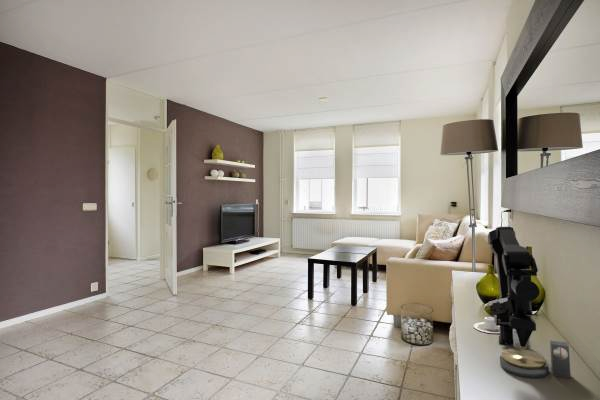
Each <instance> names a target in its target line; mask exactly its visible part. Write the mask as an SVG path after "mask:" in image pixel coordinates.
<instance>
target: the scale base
mask: <svg viewBox="0 0 600 400" xmlns="http://www.w3.org/2000/svg"><path fill="white" fill-rule="evenodd" d="M549 347H550V362H551V363H550V365H551V373H552V376H553V377H559V378H564V379H565V378H566V379H572V378H571V376H572V375H571V362H570V347H569V344H568V343H567V342H565V341H557V340H549ZM499 365H500V366H499V367H500V368H502V369H503V370H504V371H505V372H507V373H509V374H511V375H514V376H517V377H522V378H526V379H544V378H546V377H548V376H549V374H550V368H549V363H548V362H547V361H546V365H545V366H544V367H542V368H537V369H530V368H523V367H518V366H515V365H512V364H510V363H508V362H506V361H505V360H503V358H502V354H501V355H500V356H499Z"/></svg>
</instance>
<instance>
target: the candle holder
mask: <svg viewBox="0 0 600 400" xmlns="http://www.w3.org/2000/svg"><path fill="white" fill-rule="evenodd" d="M479 326H484V327H485V329H486V330H487V331H486V330H482V329H481V328H480V327H479ZM473 328H475V330H478V331H480V332H483V333H487V334H500V331H497V330H498V328H500V327H499V326H496V324H495V322H494V316H486V317H484V321H483V322H481V321H480V322H476V323H475V324H473Z"/></svg>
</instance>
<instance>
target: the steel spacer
mask: <svg viewBox="0 0 600 400" xmlns="http://www.w3.org/2000/svg"><path fill="white" fill-rule="evenodd" d="M513 344H514V345H513V347H514V349H522V350H529V351H530V350H531V349H532V346H531V345H532V344H531V337H530V338H529V340H528V342H527V344H526V346H525V347H522V346H521V345H520V342H519V338H518V335H517V331H516V330H515V329H513Z"/></svg>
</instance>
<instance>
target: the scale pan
mask: <svg viewBox="0 0 600 400" xmlns="http://www.w3.org/2000/svg"><path fill="white" fill-rule="evenodd" d="M501 355H502V358H503V360H505V361H506V362H508V363H510V364H512V365H515V366H518V367H523V368H530V369H537V368H542V367H544V366H545V365H546V362H547V360H546V358H545V356H543V355H542V354H540V353H538V352H535V351H532V350H530V349H529V350H522V349H518V348H506V349H504V350H502V352H501Z"/></svg>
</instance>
